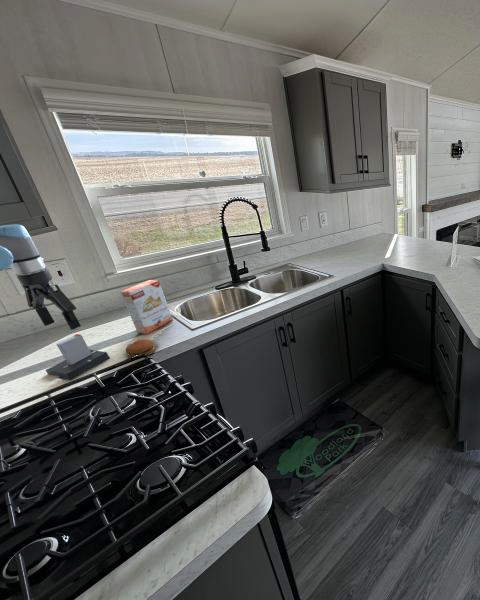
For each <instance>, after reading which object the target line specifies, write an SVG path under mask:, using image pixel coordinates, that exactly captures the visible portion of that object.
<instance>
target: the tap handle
mask: <svg viewBox="0 0 480 600" xmlns="http://www.w3.org/2000/svg"><path fill="white" fill-rule="evenodd" d="M56 346H57V348H58V350H59V352H60V353H61V355H62V356H63V358H64V360H66V362H67V363H68V364H70V365H72V364H74V363H76V362H78V361H80V360H82V359H84V358H86V357H87V356H89V355H91V352H90V350H91V349H90V348H89V347H88V344H87V342H86V340H85V338H84V337H83V335H82V334H80V333H76V334H73V335H72V336H71V337H68V338H66V339H64V340H61V341H60V342H57V343H56ZM89 349H90V350H89Z"/></svg>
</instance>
